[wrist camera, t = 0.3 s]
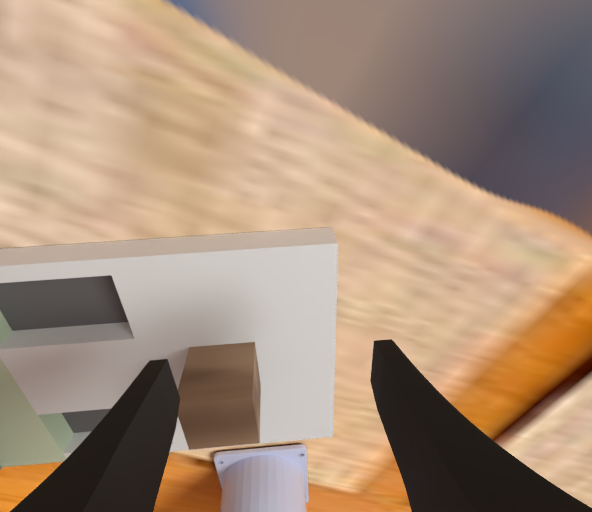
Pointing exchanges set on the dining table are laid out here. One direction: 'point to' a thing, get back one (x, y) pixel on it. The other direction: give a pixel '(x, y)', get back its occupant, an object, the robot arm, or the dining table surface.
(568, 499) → the robot arm
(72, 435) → the board
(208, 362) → the walnut block
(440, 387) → the dining table surface
